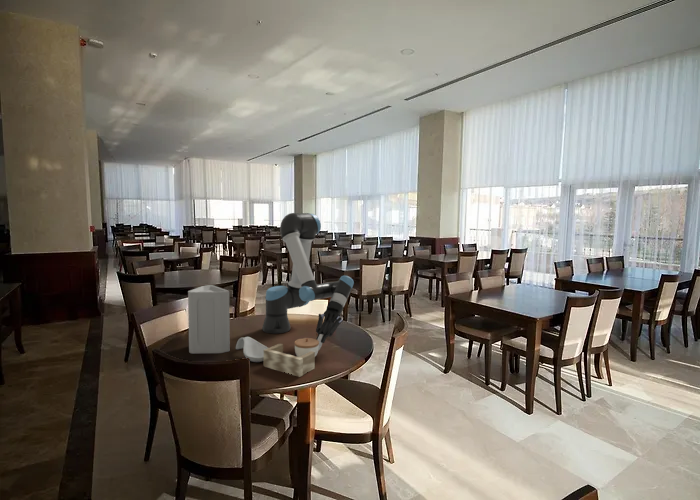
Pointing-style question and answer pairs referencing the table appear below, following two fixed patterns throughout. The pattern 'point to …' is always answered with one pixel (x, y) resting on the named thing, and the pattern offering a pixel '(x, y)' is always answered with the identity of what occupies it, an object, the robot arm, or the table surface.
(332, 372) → the table surface
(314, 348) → the lidded jar
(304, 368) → the open wooden box
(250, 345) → the spoon rest
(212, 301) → the grey triangular prism
